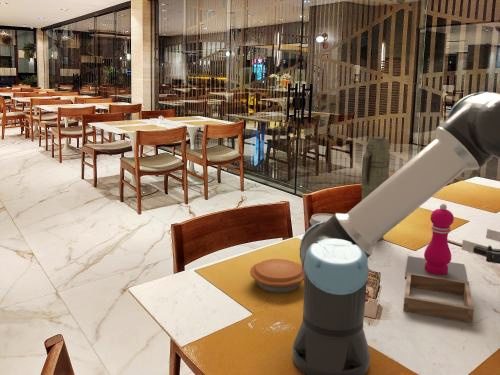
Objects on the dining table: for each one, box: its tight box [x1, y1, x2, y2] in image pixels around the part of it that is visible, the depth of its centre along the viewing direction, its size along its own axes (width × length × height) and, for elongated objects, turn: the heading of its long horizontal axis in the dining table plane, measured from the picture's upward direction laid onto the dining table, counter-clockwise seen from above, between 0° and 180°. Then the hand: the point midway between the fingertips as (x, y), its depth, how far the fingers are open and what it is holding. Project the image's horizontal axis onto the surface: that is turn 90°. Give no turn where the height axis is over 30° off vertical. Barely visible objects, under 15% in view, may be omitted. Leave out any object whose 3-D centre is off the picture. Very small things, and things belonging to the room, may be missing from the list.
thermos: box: [360, 136, 391, 242], centre depth 152 cm, size 9×12×35 cm
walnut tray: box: [402, 272, 475, 324], centre depth 112 cm, size 15×15×4 cm
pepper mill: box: [423, 203, 455, 275], centre depth 127 cm, size 7×7×20 cm
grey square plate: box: [404, 255, 468, 282], centre depth 129 cm, size 16×16×1 cm
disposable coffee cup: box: [309, 213, 334, 227], centre depth 140 cm, size 10×10×12 cm
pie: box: [249, 258, 304, 294], centre depth 121 cm, size 15×16×5 cm
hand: (475, 238), depth 119 cm, fingers open, 13 cm apart
